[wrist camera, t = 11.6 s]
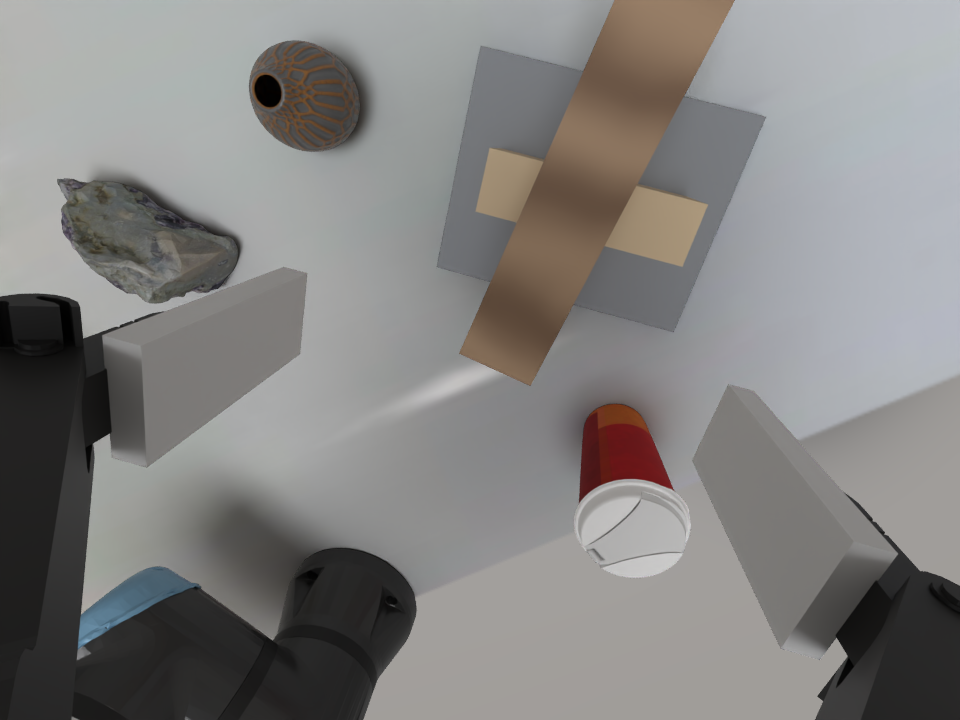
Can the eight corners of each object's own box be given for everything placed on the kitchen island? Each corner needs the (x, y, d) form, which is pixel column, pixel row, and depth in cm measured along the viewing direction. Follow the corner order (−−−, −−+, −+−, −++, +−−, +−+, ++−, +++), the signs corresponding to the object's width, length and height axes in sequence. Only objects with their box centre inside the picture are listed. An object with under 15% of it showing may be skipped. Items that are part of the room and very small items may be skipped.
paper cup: (602, 478, 47) (615, 598, 35) (555, 419, 46) (550, 523, 33) (676, 440, 45) (720, 556, 32) (629, 376, 43) (656, 471, 30)
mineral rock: (88, 187, 44) (-36, 197, 35) (170, 127, 41) (57, 120, 32) (177, 313, 48) (86, 351, 39) (259, 266, 45) (180, 296, 36)
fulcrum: (671, 328, 41) (690, 360, 34) (439, 264, 42) (416, 284, 35) (760, 117, 34) (805, 110, 28) (482, 48, 35) (464, 26, 29)
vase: (352, 167, 40) (299, 172, 32) (276, 124, 40) (203, 118, 32) (385, 80, 37) (335, 61, 29) (302, 33, 37) (230, 0, 29)
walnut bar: (534, 356, 36) (530, 385, 32) (472, 327, 36) (459, 353, 31) (708, 22, 27) (736, -3, 22) (624, -17, 27) (637, -51, 22)
